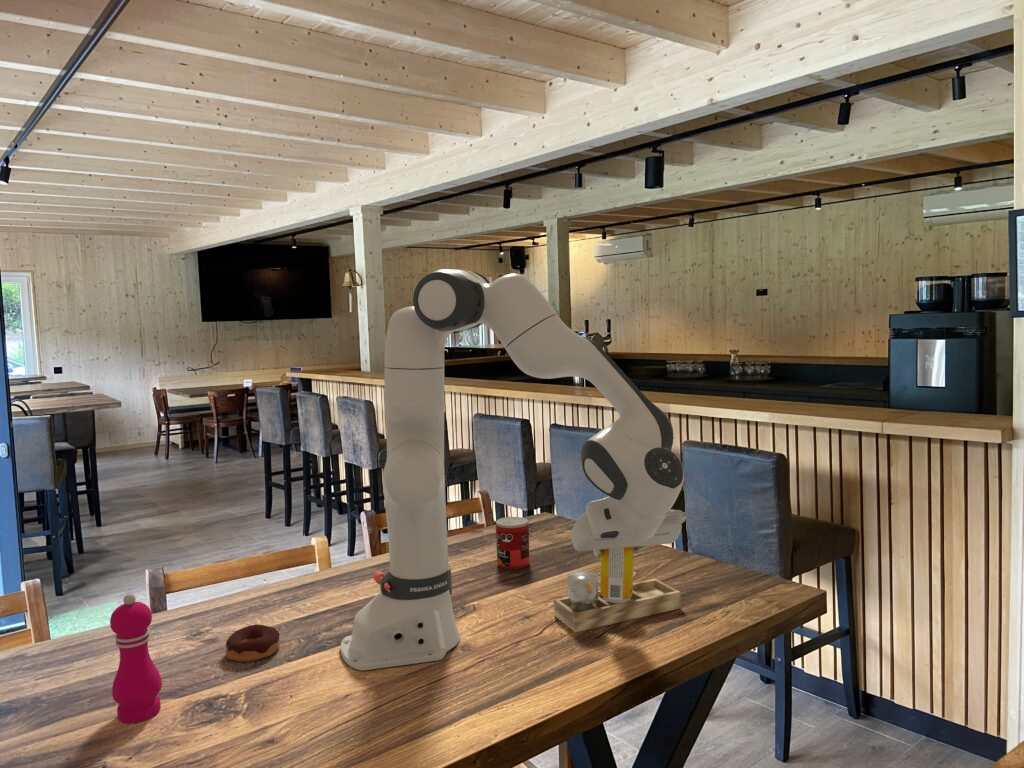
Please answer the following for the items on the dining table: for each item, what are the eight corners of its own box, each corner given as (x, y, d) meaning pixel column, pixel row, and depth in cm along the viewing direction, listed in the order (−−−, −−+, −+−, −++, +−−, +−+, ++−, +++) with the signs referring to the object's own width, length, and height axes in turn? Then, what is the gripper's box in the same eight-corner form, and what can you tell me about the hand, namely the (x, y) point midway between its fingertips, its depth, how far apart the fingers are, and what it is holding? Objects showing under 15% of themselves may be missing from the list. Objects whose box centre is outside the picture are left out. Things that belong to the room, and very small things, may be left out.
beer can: (631, 592, 150) (632, 517, 148) (633, 604, 144) (635, 527, 142) (599, 590, 151) (601, 516, 149) (600, 603, 145) (602, 526, 143)
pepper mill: (171, 700, 128) (161, 584, 126) (152, 724, 121) (141, 601, 119) (127, 702, 128) (116, 586, 126) (105, 726, 120) (94, 604, 118)
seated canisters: (577, 618, 151) (577, 584, 150) (563, 607, 156) (562, 574, 155) (638, 605, 156) (637, 571, 156) (622, 595, 162) (621, 563, 161)
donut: (249, 670, 138) (248, 648, 138) (214, 658, 144) (212, 637, 143) (292, 647, 147) (291, 627, 147) (257, 637, 152) (256, 618, 152)
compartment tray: (575, 632, 149) (574, 615, 149) (554, 616, 157) (554, 599, 157) (680, 608, 159) (680, 591, 159) (656, 594, 167) (655, 578, 167)
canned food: (493, 561, 191) (492, 518, 190) (524, 557, 194) (522, 515, 193) (502, 571, 184) (500, 527, 183) (533, 567, 187) (532, 523, 185)
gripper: (684, 495, 141) (661, 532, 151) (578, 503, 136) (562, 540, 146) (695, 526, 137) (670, 561, 147) (587, 535, 132) (569, 571, 143)
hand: (615, 551), depth 147 cm, fingers closed on beer can, 6 cm apart
